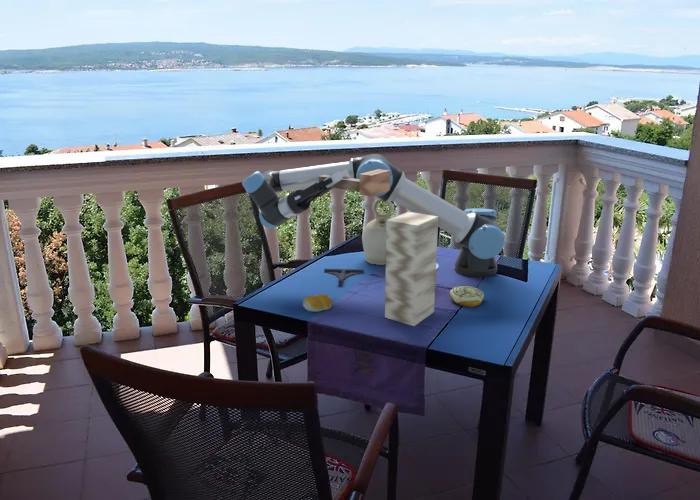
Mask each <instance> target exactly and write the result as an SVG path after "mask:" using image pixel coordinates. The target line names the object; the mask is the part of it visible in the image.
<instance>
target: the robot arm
mask: <svg viewBox="0 0 700 500" xmlns="http://www.w3.org/2000/svg"><path fill="white" fill-rule="evenodd" d="M377 169H382V170H390V190H389V191H386V192H383V193H380V194H377V195H374V196H371V198H376V199H378V198H379V199H381V200H383V201H385V202H384V203H386V202H390V201H391V202H394V203H395V204H396V205H397V204H398V205H399V206H401V207H403V208H404V209H407V210H408V211H409V212H414V213H420V214H426V215H432V216H438V228H440V229H441V230H444V231H445V232H446V233H449V234H451V235H452V236H454V240H455V242H456V243H457V244H458V245H460V251H459V253H458V255H457V257H456V260H455V262H454V270H455V271H456V272H457V273H458V274H461V275H463V276H468V277H472V278H473V277H474V278H486V277H491V276H494V275H496V274H497V272H498V262H497V259H496V256H498V255H499V254H500V253H501V252H502V251H503V249H504V245H505V234H504V232H503V230H502V229H501V228H500V227H499V226H498V224H497V218H498V216H497V211H496V210H495V209H493V208H492V209H491V208H479V207H477V208H475V207H474V208H473V207H472V208H466V209H464V210H462V209H460V208H459V207H457V206H455V205H453V204H452V203H450V202H448V201H446V200H445V199H443V198H442V197H440V196H438V195H436V194H434V193H432V192H430V191H429V190H428V189H425V188H424V187H422V186H420V185H418V184H417V183H415V182H413V181H411V180H410V179H408V178H406V175H405V172H404V171H403V170H402V169H400V168H398V167H397V166H395V165H393V164H392V163H391V161H390V159H388V158H387V156H384V155H383V154H378V153H370V154H367V155H362V156H357V157H352V158H350V159H349V161H343V162H336V163H335V162H334V163H327V164H320V165H311V166H306V167H305V166H303V167H298V168H289V169H283V170H282V169H281V170H275V171H274V170H267V171H264V172H261V171H259V170H257V171H255V172H253V173H252V174H251V175H249V176H248V177H246V178H245V179H243V180H242V182H241V185H242V187H243V188H244V189H245V192H246V193H247V194H248V195H249V196H250V198H251V199H252V201H253V202H254V203H255V204H256V206H257V207H258V209H259V210H260V212H259V214H258V215H259V216H258V218H259V220H260V223H261V225H262V226H264V227H265V228H267V229H275V228H276V227H278V226H279V227H280V226H282V225H283V224H284V223H286V222H288V221H289V220H291V219H297V218H296V216H298V215H300V214H302V213H303V212H305V211H307V210H308V209H309V208H311V207H310V206H311V203H312V202H313V201H315V200H316V199H317V198H320V197H323V196H324V195H325V194H327V193H328V192H329V191H331V190H334V188H331V187H330V186H332V185H334V184H335V183H337V182H339V181H341V180H342V179H343V178H342V177H346V178H353V179H360V174H362V173H366V172H370V171H373V170H377ZM322 175H330V176H329V177H328V178H326V179H324V181H320V182H319V176H322ZM325 186H326V187H325ZM288 191H289V193H287V194H286V195H284V196H282V197H281V198H280V197H279V196H278V195H277V193H281V192H282V193H283V192H288ZM290 191H291V192H290ZM383 201H382V202H383Z"/></svg>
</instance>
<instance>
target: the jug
mask: <svg viewBox="0 0 700 500" xmlns="http://www.w3.org/2000/svg"><path fill="white" fill-rule="evenodd" d="M380 202H384V203H386V204H387V206H388V210H387V211H384V210H382V212H379V211H377V206H378V204H379V203H380ZM393 209H394V207H393V203H392V201H390V202H385V201H383V200H381V199H379V198H376V199H375V200H374V201H373V203H372V207H371V211H372V213H373V214H374V216H375V218H374V219H372V220H370V221H369V222H368V223H366V225H364V228H363V230H362V233H361V235H362V236H361V241H362V242H361V243H362V249H363V254H364V258H365V261H366V262H367V263H368V264H371V265H374V264H376V266H385V265H384V264H386V223H387V220H388V219H390V215H391V214H392V213H393Z"/></svg>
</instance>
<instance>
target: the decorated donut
mask: <svg viewBox="0 0 700 500" xmlns="http://www.w3.org/2000/svg"><path fill="white" fill-rule="evenodd" d="M449 295H450V298H451V301H453V302H454V303H455V304H456V305H459V306H461V307H470V308H474V307H477V306H480V305H481V304H482V302H484V301H483V300H484V298H485V294H484V292H483V291H482V290H481V289H479V288H477V287H475V286H468V285H464V286H460V285H459V286H454V287H453V288H452V289H451V290H450V292H449Z"/></svg>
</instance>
